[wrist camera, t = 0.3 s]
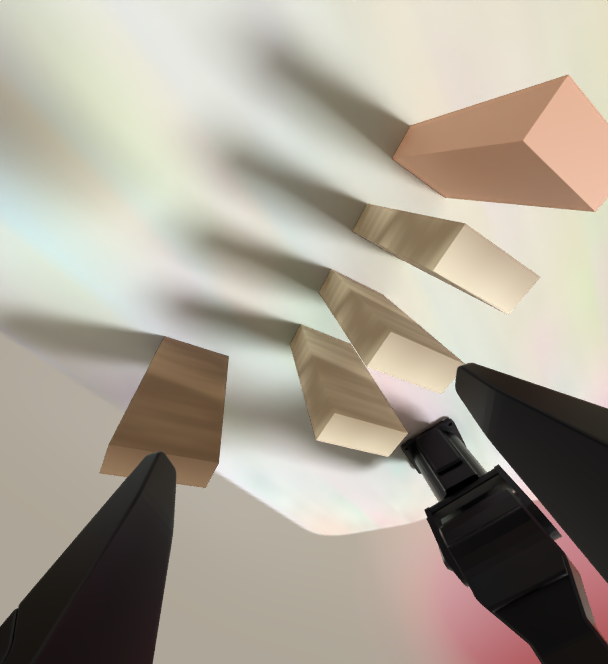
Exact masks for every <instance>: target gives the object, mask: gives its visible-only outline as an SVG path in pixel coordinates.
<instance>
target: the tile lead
mask: <svg viewBox="0 0 608 664" xmlns="http://www.w3.org/2000/svg"><path fill="white" fill-rule="evenodd" d="M228 359H229V356H225V355H222V354H219V353H216V352H213V351H210V350H206V349H203V348H200V347H197V346H194V345H190V344H187V343H184V342H181V341H178V340H174V339H171V338H168V337H165V336H164V338H163V340H162V342H161V344H160V346H159V348H158V350H157V352H156V354H155V356H154V358H153V360H152V361H151V363H150V365H149V367H148V369H147V371H146V373H145V375H144V377H143V379H142V381H141V383H140V385H139V387H138V389H137V391H136V393H135V394H134V396H133V398H132V400H131V402H130V404H129V406H128V408H127V410H126V412H125V414H124V416H123V418H122V420H121V422H120V424H119V426H118V427H117V430H116V431H115V434H114V435H113V437H112V439H111V441H110V443H109V446H108V448H107V452H106V455H105V458H104V461H103V464H102V467H101V470H100V473H101V474H108V475H116V476H123V477H128V476H129V475H130V474H131V473H132V471H133V470H134V469H135V468H136V467H137V465H138V464H139V463H140V462H141V461H142V460H143V458H144V457H145V456H146V455H148V454H151V453H155V452H158V451H163V452H164V453H165V454H166V456H167V457H168V458H169V460H170V461H171V463H172V464H173V466H174V467H175V469H176V484H182V485H189V486H196V487H203V488H206V486H207V484H208V482H209V480H210V479H211V476H212V475H213V473H214V471H215V469H216V467H217V466H218V464H219V455H220V445H221V434H222V423H223V413H224V402H225V391H226V381H227V370H228Z"/></svg>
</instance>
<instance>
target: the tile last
mask: <svg viewBox="0 0 608 664" xmlns="http://www.w3.org/2000/svg"><path fill="white" fill-rule="evenodd" d="M392 159H393V160H395V161H396V162H397V163H399V164H400V165H401V166H403V167H404V168H405V169H407V170H408V171H410V172H411V173H412V174H414V175H415V176H416V177H418V178H419V179H420V180H422V181H423V182H425V183H426V184H427V185H429V186H430V187H431V188H433V189H434V190H435V191H437V192H438V193H440V194H441V195H442V196H444V197H445V198H454V199H464V200H475V201H485V202H496V203H507V204H517V205H528V206H538V207H549V208H560V209H570V210H581V211H591V212H596V211H597V210H598V208H599V207H600V206H601V205H602V204H603V202H604V201H605V200H606V199H607V198H608V123H607V122H606V120H605V119H604V118H603V117H602V116H601V114H600V113H599V112H598V111H597V109H596V108H595V107H594V106H593V104H592V103H591V102H590V101H589V99H588V98H587V97H586V96H585V94H584V93H583V92H582V91H581V89H580V88H579V87H578V86H577V84H576V83H575V82H574V81H573V79H572V78H571V77H570V76H569V75H566V76H562V77H559V78H556V79H553V80H550V81H547V82H544V83H541V84H538V85H535V86H532V87H528V88H525V89H522V90H519V91H516V92H513V93H510V94H507V95H504V96H501V97H497V98H494V99H491V100H488V101H485V102H482V103H479V104H476V105H473V106H470V107H466V108H463V109H460V110H457V111H454V112H451V113H448V114H445V115H442V116H439V117H436V118H432V119H429V120H426V121H423V122H420V123H417V124H414V125H411V126H410V127H409V129H408V131H407V133H406V134H405V136H404V138H403V140H402V142H401V143H400V145H399V147H398V149H397V151H396V153H395V154H394V156H393V158H392Z"/></svg>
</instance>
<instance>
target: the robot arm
mask: <svg viewBox="0 0 608 664" xmlns="http://www.w3.org/2000/svg"><path fill="white" fill-rule="evenodd" d="M455 388H456V392H457V394H458V395H459V397H460V398H461V400H462V401H463V403H464V404H465V406H466V407H467V409H468V410H469V412H470V413H471V415H472V416H473V418H474V419H475V420H476V422H477V423H478V425H479V426H480V428H481V429H482V431H483V432H484V434H485V435H486V436H487V438H488V439H489V440H490V442H491V443H492V444H493V445H494V446H495V448H496V449H497V450H498V451H499V453H500V454H501V455H502V456H503V457H504V459H505V460H506V461H507V462H508V463H509V465H510V466H511V467H512V468H513V469H514V471H515V472H516V473H517V474H518V476H519V477H520V478H521V479H522V480H523V482H524V483H525V484H526V485H527V486H528V488H529V489H530V490H531V491H532V492H533V494H534V495H535V496H536V497H537V498H538V500H539V501H540V502H541V503H542V505H543V506H544V507H545V508H546V509H547V510H548V512H549V513H550V514H551V515H552V517H553V518H554V519H555V520H556V521H557V523H558V524H559V525H560V526H561V528H562V529H563V530H564V531H565V532H566V533H567V535H568V536H569V537H570V538H571V540H572V541H573V542H574V543H575V544H576V546H577V547H578V548H579V549H580V550H581V552H582V553H583V554H584V555H585V557H586V558H587V559H588V560H589V561H590V563H591V564H592V565H593V566H594V567H595V569H596V570H597V571H598V572H599V573H600V575H601V576H602V577H603V578H604V580H605V581H606V582H607V583H608V409H607V408H604V407H602V406H599V405H596V404H593V403H590V402H587V401H584V400H581V399H578V398H575V397H572V396H569V395H566V394H563V393H560V392H557V391H554V390H551V389H548V388H546V387H543V386H540V385H537V384H534V383H531V382H528V381H525V380H522V379H519V378H516V377H513V376H510V375H507V374H504V373H501V372H498V371H495V370H492V369H490V368H487V367H484V366H481V365H478V364H475V363H467V364H464V365H460V366H458V368H457V371H456V383H455ZM401 449H402V450H403V452H404V453H405V455H406V456H407V457H408V459H409V460H410V462H411V463H412V464H413V466H414V467H415V469H416V470H417V471H418V473H419V474H422V475H423V476H424V478H425V480H426V482H427V483H428V485H429V487H430V488H431V490H432V492H433V493H434V495H435V497H436V498H437V500H438V503H437V504H435V505H433V506H432V507H430V508H429V507H428V508H426V509H425V513H426V515H427V521H428V523H429V525H430V527H431V529H432V532H433V534H434V536H435V538H436V541H437V543H438V545H439V549H440V552H441V555H442V558H443V562H444V564H445V566H446V567H447V569H449V570H451V571H453V572H454V573H455V574H456V575H457V576H458V578H459V579H460V580H461V581H462V583H463V584H464V585H466V586H467V587H468V586H469V587H470V588H471V590H472V592H473V594H474V596H475V597H476V599H477V600H478V601H479V602H480V603H481V604H482V605H483V606H484V607H485V608H486V609H488V610H489V611H490V612H491V613H492V614H494V615H495V616H496V617H497V618H498V619H500V620H501V621H502V622H503V623H504V624H506V625H507V626H508V627H509V628H510V629H511V630H513V631H514V632H515V633H516V634H517V635H519V636H520V637H521V638H522V639H523V640H525V641H526V642H527V643H528V644H529V645H530V646H531V648H532V649H533V651H534V652H535V654H536V656H537V657H538V659H539V660H540V662H541V664H608V642H607V641H606V639H605V638H604V637H603V636H602V634H601V633H600V632H599V630H598V629H597V627H596V624H595V621H594V618H593V615H592V611H591V608H590V605H589V602H588V599H587V595H586V592H585V589H584V586H583V583H582V579H581V576H580V574H579V572H578V570H577V569H576V567H575V566H574V565H573V564H572V562H571V561H570V560H569V558H568V557H567V556H566V554H565V553H564V552H563V551H562V549H561V548H560V547H559V546H558V545H557V543H556V542H554V540H556V539H558V538H560V537H562V536H561V534H560V533H559V532H558V531H557V529H556V528H555V527H554V526H553V525H552V523H551V522H550V521H549V520H548V519H547V518H546V516H545V515H544V514H543V513H542V512H541V511H540V510H539V508H538V507H537V506H536V505H535V504H534V503H533V502H532V501H531V499H530V498H529V497H528V496H527V495H526V494H525V493H524V492H523V491H522V490H521V488H520V487H519V486H518V485H517V484H516V483H515V482H514V481H513V480H512V479H511V478H510V476H509V475H508V474H507V473H506V472H505V471H504V470H503V469H502V468H501V467H500V466H499V464H498V465H497V466H495V467H494V469H492V470H491V471H489V472H486V471H485V470H484V468H483V467H482V466H481V465H480V463H479V462H478V461H477V460H476V459H475V457H474V456H473V455H472V454H471V453H470V451H469V450H468V449H467V448H466V445H465V443H464V441H463V439H462V437H461V435H460V433H459V431H458V429H457V427H456V425H455V423H454V421H453V420H452V419H446V420H445V421H443V422H441V423H439V424H438V425H436V426H434V427H432V428H431V429H429V430H427V431H425V432H423V433H422V434H420V435H418V436H416V437H415V438H413V439H411V440H409V441H407V442H406V443H404V444H402V446H401ZM512 491H513V492H514V493H513V492H512ZM175 494H176V469H175V467H174V466H173V464H172V463H171V461H170V460H169V458H168V457H167V456H166V454H165V453H164V452H163V451H158V452H155V453H151V454H148V455H146V456H145V457H144V458H143V460H142V461H141V462H140V463H139V464H138V465H137V467H136V468H135V469H134V470H133V471H132V473H131V474H130V475H129V476H128V477H127V478H126V480H125V481H124V482H123V483H122V484H121V486H120V487H119V488H118V489H117V490H116V491H115V493H114V494H113V495H112V496H111V497H110V498H109V500H108V501H107V502H106V503H105V504H104V506H103V507H102V508H101V509H100V510H99V511H98V513H97V514H96V515H95V516H94V517H93V518H92V519H91V521H90V522H89V523H88V524H87V526H86V527H85V528H84V529H83V530H82V531H81V532H80V534H79V535H78V536H77V537H76V538H75V539H74V541H73V542H72V543H71V544H70V545H69V547H68V548H67V549H66V550H65V551H64V552H63V554H62V555H61V556H60V557H59V558H58V560H57V561H56V562H55V563H54V564H53V565H52V566H51V568H50V569H49V570H48V571H47V572H46V574H45V575H44V576H43V577H42V578H41V579H40V581H39V582H38V583H37V584H36V585H35V586H34V588H33V589H32V590H31V591H30V592H29V593H28V595H27V596H26V597H25V598H24V599H23V600H22V602H21V603H20V604H19V607H18V608H17V609H15V610H14V611H13V612H12V613H11V615H10V616H9V617H8V618H7V619H6V620H5V622H4V623H3V624H2V625H1V626H0V664H153V658H154V651H155V645H156V638H157V632H158V626H159V619H160V613H161V607H162V600H163V594H164V588H165V581H166V575H167V569H168V563H169V556H170V550H171V544H172V537H173V528H174V512H175Z"/></svg>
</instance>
